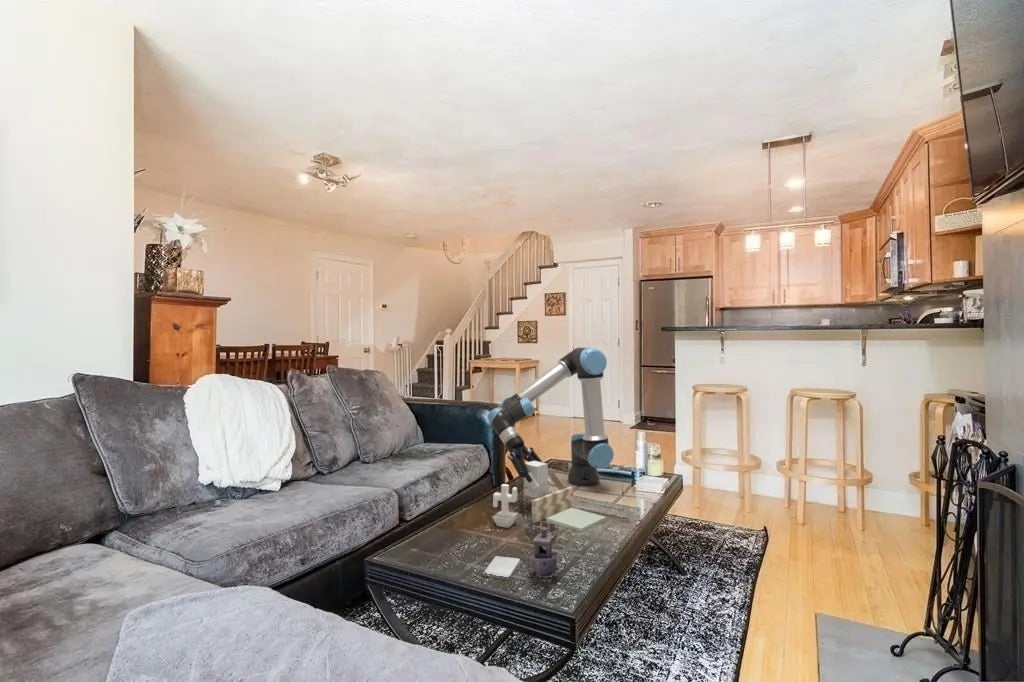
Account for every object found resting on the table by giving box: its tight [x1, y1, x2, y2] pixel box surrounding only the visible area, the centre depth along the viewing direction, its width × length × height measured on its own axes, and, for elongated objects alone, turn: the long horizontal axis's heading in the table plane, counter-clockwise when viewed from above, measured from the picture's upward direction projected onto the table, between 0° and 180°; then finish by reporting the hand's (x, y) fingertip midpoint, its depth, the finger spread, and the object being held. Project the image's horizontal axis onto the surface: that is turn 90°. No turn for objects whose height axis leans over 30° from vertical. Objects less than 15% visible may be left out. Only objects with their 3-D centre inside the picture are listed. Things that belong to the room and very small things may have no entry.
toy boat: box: [528, 526, 560, 579], centre depth 148 cm, size 15×8×13 cm, turn 164°
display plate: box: [545, 507, 607, 533], centre depth 192 cm, size 16×16×1 cm
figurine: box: [491, 483, 518, 529], centre depth 188 cm, size 7×9×15 cm
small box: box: [523, 461, 550, 499], centre depth 204 cm, size 8×6×13 cm
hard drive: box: [484, 555, 521, 577], centre depth 152 cm, size 2×8×12 cm
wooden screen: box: [531, 486, 574, 524], centre depth 199 cm, size 24×2×8 cm, turn 137°
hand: (542, 485), depth 202 cm, fingers closed on small box, 7 cm apart
